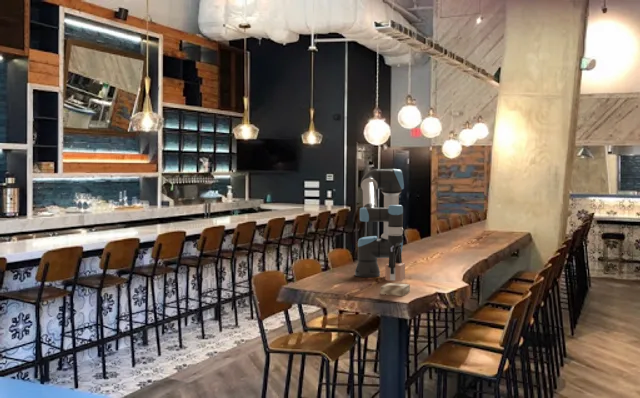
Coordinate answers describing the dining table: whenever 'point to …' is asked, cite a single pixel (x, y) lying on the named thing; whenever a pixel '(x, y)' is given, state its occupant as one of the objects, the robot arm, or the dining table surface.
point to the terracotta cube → (399, 272)
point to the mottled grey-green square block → (395, 289)
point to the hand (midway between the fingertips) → (395, 278)
